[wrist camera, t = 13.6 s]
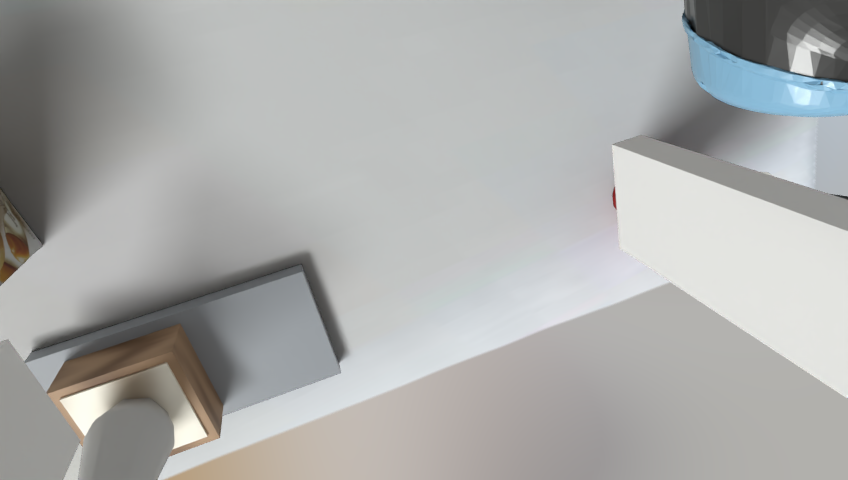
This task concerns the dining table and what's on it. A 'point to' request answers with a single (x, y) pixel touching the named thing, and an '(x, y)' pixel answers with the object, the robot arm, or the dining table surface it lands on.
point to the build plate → (230, 339)
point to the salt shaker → (128, 442)
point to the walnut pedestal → (142, 386)
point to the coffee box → (14, 239)
